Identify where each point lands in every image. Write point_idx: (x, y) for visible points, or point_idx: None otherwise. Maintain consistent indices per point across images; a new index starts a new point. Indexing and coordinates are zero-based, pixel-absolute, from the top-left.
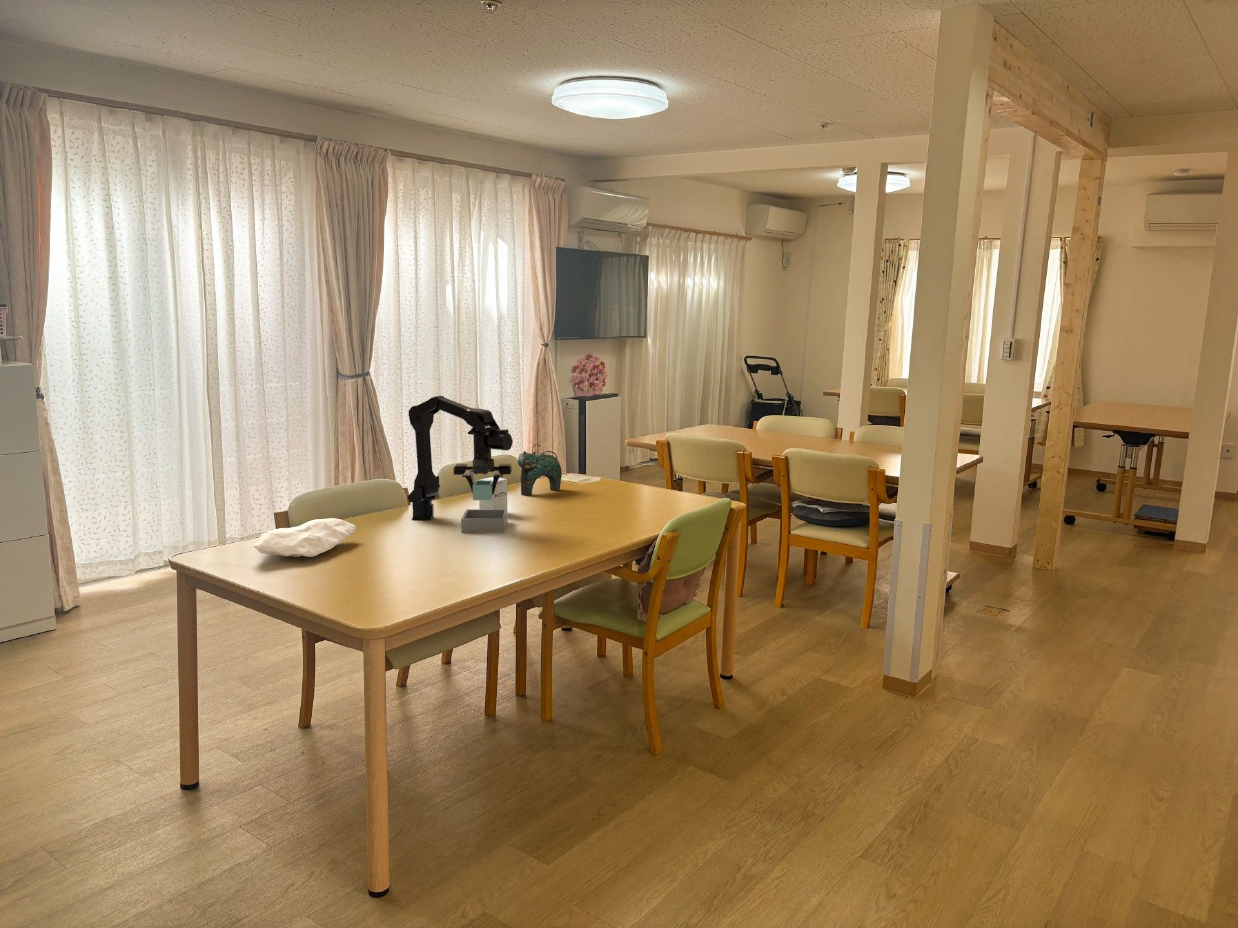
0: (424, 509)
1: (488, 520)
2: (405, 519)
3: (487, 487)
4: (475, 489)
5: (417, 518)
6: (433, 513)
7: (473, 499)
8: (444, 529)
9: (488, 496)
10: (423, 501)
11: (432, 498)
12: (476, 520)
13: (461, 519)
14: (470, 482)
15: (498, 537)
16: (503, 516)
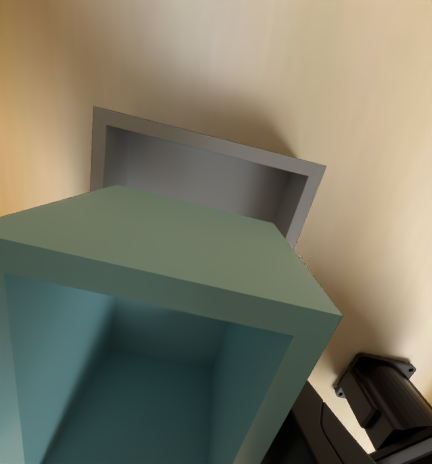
0: (398, 393)
1: (182, 129)
2: (425, 374)
3: (74, 231)
4: (272, 261)
5: (399, 364)
6: (345, 387)
7: (271, 224)
8: (350, 228)
9: (128, 196)
10: (430, 429)
11: (377, 456)
12: (245, 145)
13: (323, 165)
14: (343, 454)
15: (156, 21)
16: (99, 172)
